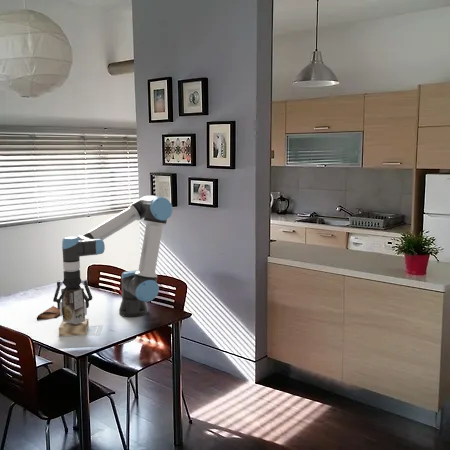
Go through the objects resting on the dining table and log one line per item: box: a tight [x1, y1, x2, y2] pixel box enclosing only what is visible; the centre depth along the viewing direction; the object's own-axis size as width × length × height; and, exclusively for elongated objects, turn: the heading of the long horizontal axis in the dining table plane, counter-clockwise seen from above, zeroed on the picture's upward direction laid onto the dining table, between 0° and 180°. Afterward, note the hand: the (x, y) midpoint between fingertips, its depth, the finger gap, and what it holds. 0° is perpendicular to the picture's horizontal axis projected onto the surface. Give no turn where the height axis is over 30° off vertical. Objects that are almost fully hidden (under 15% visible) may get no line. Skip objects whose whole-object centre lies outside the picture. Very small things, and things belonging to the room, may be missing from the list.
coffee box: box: [60, 287, 86, 324], centre depth 239 cm, size 9×6×16 cm
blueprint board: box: [56, 324, 104, 338], centre depth 241 cm, size 20×14×1 cm
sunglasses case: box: [36, 305, 61, 321], centre depth 266 cm, size 18×7×7 cm
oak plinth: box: [58, 318, 90, 337], centre depth 241 cm, size 12×12×4 cm
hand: (73, 315), depth 240 cm, fingers closed on coffee box, 10 cm apart
